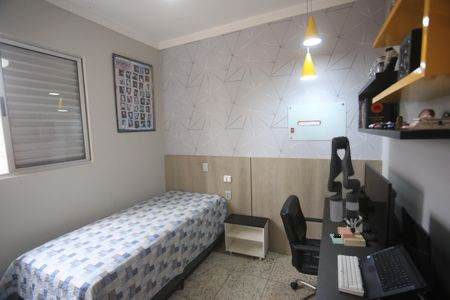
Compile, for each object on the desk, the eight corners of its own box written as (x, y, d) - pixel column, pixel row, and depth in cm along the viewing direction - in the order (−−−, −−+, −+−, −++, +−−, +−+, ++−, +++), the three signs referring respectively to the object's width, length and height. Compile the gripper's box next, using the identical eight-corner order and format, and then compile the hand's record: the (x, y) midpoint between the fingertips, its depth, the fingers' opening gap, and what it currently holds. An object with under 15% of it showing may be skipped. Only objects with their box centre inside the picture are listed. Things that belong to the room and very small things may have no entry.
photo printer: (360, 230, 168) (360, 214, 168) (363, 232, 164) (363, 216, 163) (346, 230, 170) (345, 214, 169) (348, 232, 166) (347, 216, 165)
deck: (337, 232, 167) (337, 227, 167) (355, 233, 164) (355, 227, 164) (344, 245, 148) (344, 239, 148) (365, 246, 145) (365, 240, 145)
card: (339, 230, 161) (339, 228, 161) (348, 231, 159) (348, 228, 159) (343, 236, 152) (343, 233, 152) (352, 237, 150) (352, 234, 150)
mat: (329, 234, 165) (329, 233, 165) (338, 234, 163) (338, 234, 163) (333, 243, 152) (333, 243, 152) (343, 244, 150) (343, 243, 150)
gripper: (361, 206, 155) (361, 230, 156) (340, 206, 159) (340, 230, 160) (365, 210, 148) (365, 235, 149) (343, 209, 151) (343, 234, 152)
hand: (352, 232), depth 154 cm, fingers closed
